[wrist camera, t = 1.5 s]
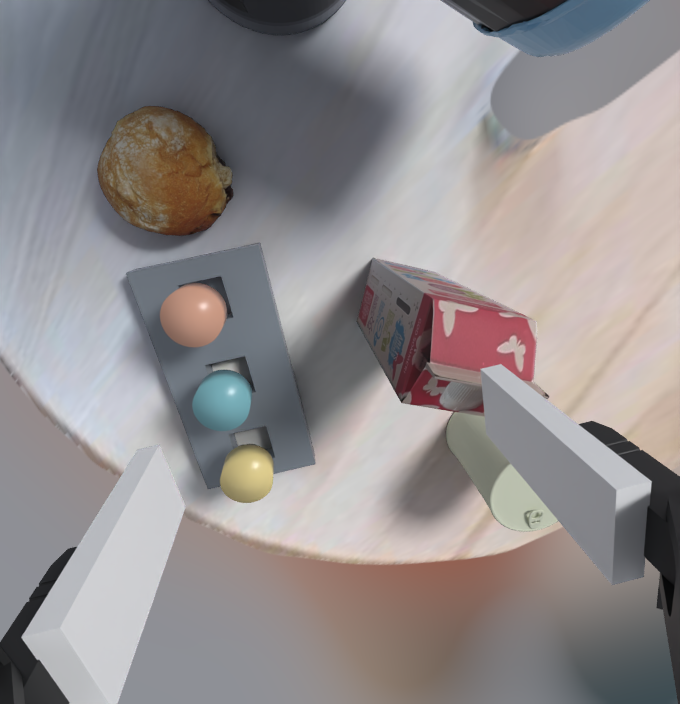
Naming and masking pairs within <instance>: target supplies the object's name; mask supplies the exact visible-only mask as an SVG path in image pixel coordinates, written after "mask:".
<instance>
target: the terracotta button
mask: <svg viewBox="0 0 680 704" xmlns="http://www.w3.org/2000/svg"><path fill="white" fill-rule="evenodd" d="M226 319H227V306H226V303H225V301H224V299H223V297H222V296H221V295H220V293H219V292H218V291H216V290H215V289H214V288H212V287H210V286H208V285H206V284H202V283H189V284H186V285H183V286H181V287H180V288H178V289H177V290H176V291H174V292H173V293H172V294H170V295H169V296H168V297H167V298H166V299H165V301H164V302H163V304H162V306H161V310H160V321H161V325H162V327H163V329H164V331H165V333H166V334H167V335H168V336H169V337H170V338H171V339H172V340H173V341H175V342H176V343H178V344H180V345H183V346H187V347H202V346H205V345H207V344H209V343H211V342H212V341H214V340H215V339H216V338H217V336H218V335H219V333H220V332H221V330H222V328H223V326H224V324H225V322H226Z"/></svg>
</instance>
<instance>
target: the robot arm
mask: <svg viewBox="0 0 680 704" xmlns="http://www.w3.org/2000/svg"><path fill="white" fill-rule="evenodd" d="M209 1H210V2H211V3H212V5H214V6H215V7H216V8H217V9H218V10H219V11H220V12H221V13H223V14H224V15H225V16H227V17H228V18H230V19H231V20H233V21H234V22H236V23H238V24H239V25H242V26H244V27H246V28H248V29H251V30H253V31H257V32H260V33H265V34H272V35H289V34H295V33H300V32H303V31H306V30H309V29H311V28H313V27H315V26H317V25H319V24H321V23H322V22H324V21H325V20H327V19H328V18H329V17H330V16H332V15H333V14H334V13H335V12H336V11H337V10H338V9H339V8H340V7H341V6H342V5H343V3H344V2H345V1H346V0H209ZM441 1H442V2H444V3H445V4H447V5H448V6H450V7H451V8H453V9H454V10H456V11H457V12H459V13H461V14H462V15H464V16H465V17H467V18H468V19H470V20H471V21H473V25H474V27H475V28H476V29H477V30H478V31H480V32H481V33H483V34H484V35H487V36H493V37H499V38H500V39H502V40H504V41H506V42H507V43H509V44H511V45H512V46H514V47H516V48H518V49H519V50H521V51H523V52H525V53H527V54H529V55H532V56H537V57H543V56H554V55H563V54H566V53H569V52H572V51H575V50H576V49H579V48H581V47H583V46H586V45H587V44H589V43H591V42H593V41H595V40H597V39H598V38H600V37H602V36H603V35H605V34H606V33H608V32H609V31H611V30H612V29H614V28H615V27H617V26H618V25H619V24H621V23H622V22H623V21H625V20H626V19H627V18H629V17H630V16H631V15H632V14H634V13H635V12H636V11H637V10H639V9H640V8H641V7H642V6H644V5H645V4H646V3H647V2H649V1H650V0H441ZM480 370H481V381H482V393H483V404H484V415H485V427H486V435H487V436H488V437H489V438H490V439H491V441H492V442H493V443H494V444H495V445H496V447H497V448H498V449H499V450H500V451H501V453H502V454H503V455H504V456H505V457H506V459H507V460H508V461H509V462H510V463H511V465H512V466H513V467H514V468H515V469H516V471H517V472H518V473H519V474H520V475H521V476H522V478H523V479H524V480H525V481H526V482H527V484H528V485H529V486H530V487H531V488H532V490H533V491H534V492H535V493H536V494H537V496H538V497H539V498H540V499H541V500H542V502H543V503H544V504H545V505H546V506H547V508H548V509H549V510H550V511H551V512H552V514H553V515H554V516H555V517H556V518H557V520H558V521H559V522H560V523H561V524H562V526H563V527H564V528H565V529H566V530H567V532H568V533H569V534H570V535H571V536H572V538H573V539H574V540H575V541H576V542H577V544H578V545H579V546H580V547H581V548H582V550H583V551H584V552H585V553H586V554H587V556H588V557H589V558H590V559H591V560H592V561H593V563H594V564H595V565H596V566H597V568H598V569H599V570H600V571H601V572H602V574H603V575H604V576H605V577H606V578H607V579H608V581H609V582H610V583H611V584H612V585H614V584H618V583H622V582H626V581H630V580H634V579H638V578H641V577H644V567H645V557H646V559H647V560H648V561H649V562H651V563H652V565H653V566H655V568H657V569H658V571H659V572H660V579H659V589H658V599H657V608H659V609H663V612H664V618H665V624H666V631H667V637H668V643H669V649H670V656H671V662H672V668H673V674H674V680H675V686H676V693H677V699H678V704H680V476H678V475H677V474H675V473H674V472H672V471H671V470H670V469H668V468H667V467H665V466H664V465H663V464H661V463H660V462H658V461H657V460H656V459H654V458H653V457H651V456H650V455H649V454H647V453H646V452H644V451H643V450H641V451H640V449H639V447H637V446H636V445H634V444H633V443H632V442H630V441H627V439H626V438H625V437H623V436H622V435H620V434H619V433H618V432H616V431H615V430H613V429H612V428H609V427H607V426H604V425H601V424H599V423H596V422H594V421H590V422H586V423H582V424H577V423H576V422H575V421H573V420H572V419H571V418H570V417H568V416H567V415H566V414H564V413H563V412H562V411H561V410H559V409H558V408H557V407H555V406H554V405H553V404H552V403H550V402H549V401H548V400H546V399H545V398H544V397H543V396H541V395H540V394H539V393H537V392H536V391H535V390H534V389H532V388H531V387H530V386H529V385H527V384H526V383H525V382H523V381H522V380H521V379H520V378H518V377H517V376H516V375H514V374H513V373H512V372H511V371H509V370H508V369H507V368H505V367H504V366H503V365H502V364H499V365H495V366H491V367H487V368H482V369H480ZM185 507H186V506H185V504H184V501H183V499H182V497H181V494H180V492H179V489H178V487H177V485H176V482H175V480H174V478H173V475H172V473H171V471H170V468H169V466H168V464H167V461H166V459H165V457H164V454H163V452H162V450H161V447H160V445H155V446H151V447H147V448H143V449H138V450H137V451H136V453H135V455H134V456H133V458H132V460H131V461H130V463H129V464H128V466H127V468H126V469H125V471H124V472H123V474H122V476H121V477H120V479H119V481H118V482H117V484H116V485H115V487H114V489H113V490H112V492H111V494H110V495H109V497H108V498H107V500H106V502H105V503H104V505H103V506H102V508H101V510H100V511H99V513H98V515H97V516H96V518H95V519H94V521H93V522H92V524H91V526H90V527H89V529H88V531H87V532H86V534H85V535H84V537H83V539H82V540H81V542H80V544H79V545H78V547H74V548H70V549H68V550H66V551H65V552H64V553H63V554H62V555H61V556H60V557H59V558H58V559H57V560H56V561H55V562H54V563H53V564H52V565H51V566H50V568H49V569H48V571H47V572H46V574H45V575H44V577H43V578H42V580H41V581H40V583H39V587H36V589H35V591H34V592H33V594H32V595H31V597H30V598H29V599H30V600H29V602H27V603H26V604H25V606H24V607H23V609H22V610H21V612H20V613H19V615H18V616H17V618H16V619H15V621H14V622H13V624H12V625H11V627H10V628H9V630H8V632H7V633H6V634H5V636H4V637H3V639H2V640H1V642H0V704H117V703H118V700H119V697H120V694H121V692H122V688H123V686H124V683H125V680H126V677H127V674H128V671H129V669H130V666H131V663H132V660H133V657H134V654H135V651H136V648H137V645H138V643H139V639H140V636H141V634H142V631H143V628H144V625H145V622H146V619H147V616H148V613H149V611H150V608H151V605H152V602H153V599H154V596H155V593H156V591H157V588H158V585H159V582H160V579H161V576H162V573H163V570H164V567H165V565H166V562H167V559H168V556H169V553H170V550H171V547H172V544H173V542H174V539H175V536H176V533H177V530H178V527H179V524H180V522H181V519H182V516H183V513H184V510H185Z"/></svg>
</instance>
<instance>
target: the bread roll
mask: <svg viewBox="0 0 680 704" xmlns="http://www.w3.org/2000/svg"><path fill="white" fill-rule="evenodd" d="M210 167H211V168H210ZM97 172H98V178H99V183H100V186H101V189H102V191H103V193H104V195H105V197H106V198H107V200H108V202H109V203H110V204H111V206H112V207H113V208H114V210H115V211H116V212H117V213H118V214H119V215H120V216H121V217H122V218H123V219H124V220H125V221H127V222H128V223H130V224H132V225H134V226H136V227H139V228H142V229H145V230H147V231H150V232H156V233H160V234H164V235H176V236H182V235H191V234H194V233H196V232H200V231H204V230H206V229H208V228H209V227H211V226H212V224H213V223H214V222H215V221H216V220H217V218H218V217H219V216H221V214H222V212H223V210H224V209H225V207H226V204H227V203H228V201H230V200H231V199H232V197H233V189H232V188H231V186H230V185H231V183H232V180H231V179H232V171H231V169H230V167H229V166H228V167H226V165H225V162H224V161H223V160H222V159H221V158H220V157H219V156H217V153H216V147H215V145H214V143H213V140H212V137H211V136H210V135H209V134H208V133H206V131H205V129H204V128H203V127H202V126H201V125H199V124H198V123H196V122H195V121H194V120H193V119H192V118H190V117H188V116H187V115H184V114H182V113H181V112H179V111H174V110H172V109H168V108H164V107H159V106H145V107H143V108H141V109H139V110H137V111H134V112H133V113H131V114H128V115H126V116H125V117H123V118H122V119H120V120H119V121H117V123H116V126H115V128H114V130H113V131H112V136H111V137H110V138H109V140H108V141H107V143H106V146H105V148H104V150H103V152H102V154H101V156H100V160H99V163H98V168H97Z"/></svg>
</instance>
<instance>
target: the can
mask: <svg viewBox="0 0 680 704" xmlns="http://www.w3.org/2000/svg"><path fill="white" fill-rule="evenodd" d="M446 440H447V444H448V447H449V449H450V450H451V452H452V453H453V454H454V455H455V456H456V457H457V459H458V460H459V461H460V463H461V464H462V466H463V467H464V469H465V470H466V472H467V474H468V475H469V477H470V478H471V480H472V481H473V483H474V484H475V486H476V488H477V489H478V491H479V492H480V494H481V495H482V497H483V498H484V500H485V502H486V503H487V505H488V507H489V508H490V510H491V512H492V514H493V516H494V518H495V519H496V520H497V521H498V522H499V523H500V524H502V525H503V526H505V527H506V528H509V529H511V530H515V531H523V532H528V531H536V530H540V529H543V528H546V527H549V526H551V525H553V524H555V523H556V522H558V520H557V518H556V517H555V516H554V515H553V514H552V512H551V511H550V510H549V509H548V508H547V506H546V505H545V504H544V503H543V502H542V500H541V499H540V498H539V497H538V496H537V494H536V493H535V492H534V491H533V490H532V488H531V487H530V486H529V485H528V484H527V482H526V481H525V480H524V479H523V478H522V476H521V475H520V474H519V473H518V472H517V471H516V469H515V468H514V467H513V466H512V465H511V463H510V462H509V461H508V460H507V459H506V457H505V456H504V455H503V454H502V453H501V451H500V450H499V449H498V448H497V447H496V445H495V444H494V443H493V442H492V441H491V439H490V438H489V437H488V436H487V435H486V427H485V417H483V416H477V415H471V414H465V413H459V412H454V413H453V415H452V417H451V418H450V420H449V422H448V425H447V429H446Z"/></svg>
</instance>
